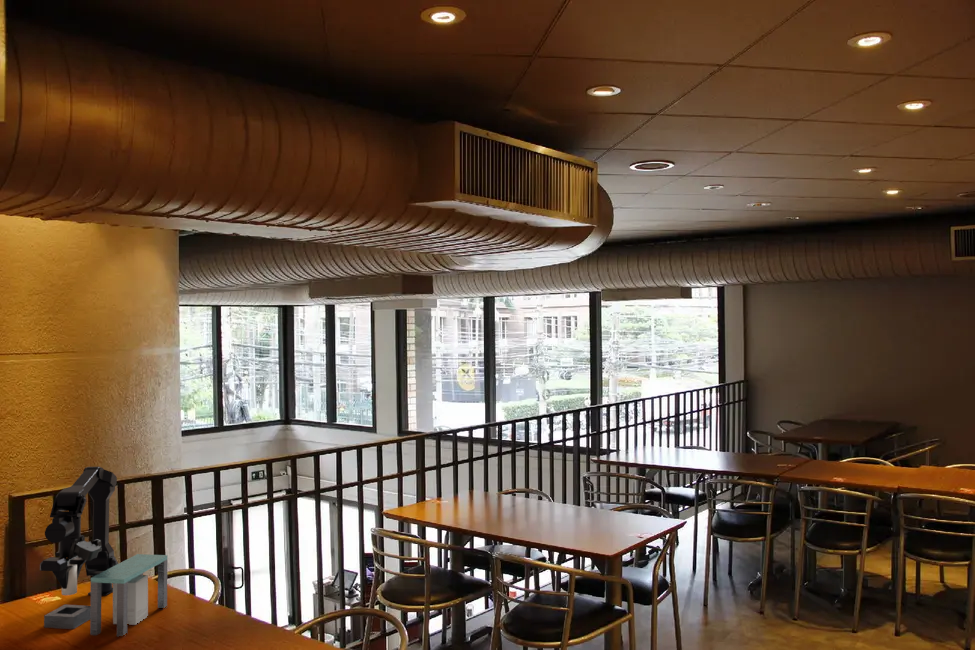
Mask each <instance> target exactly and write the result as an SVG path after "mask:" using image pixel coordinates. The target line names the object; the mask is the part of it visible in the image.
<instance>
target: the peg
mask: <svg viewBox="0 0 975 650" xmlns="http://www.w3.org/2000/svg"><path fill="white" fill-rule="evenodd" d="M69 566H73V567H72V568H71V569H70V570H69V575H68V584H67V588H66V589H63V588H62V587H61V595H62V596H71V595H75V594H77V593H78V579H77V564H69Z"/></svg>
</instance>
